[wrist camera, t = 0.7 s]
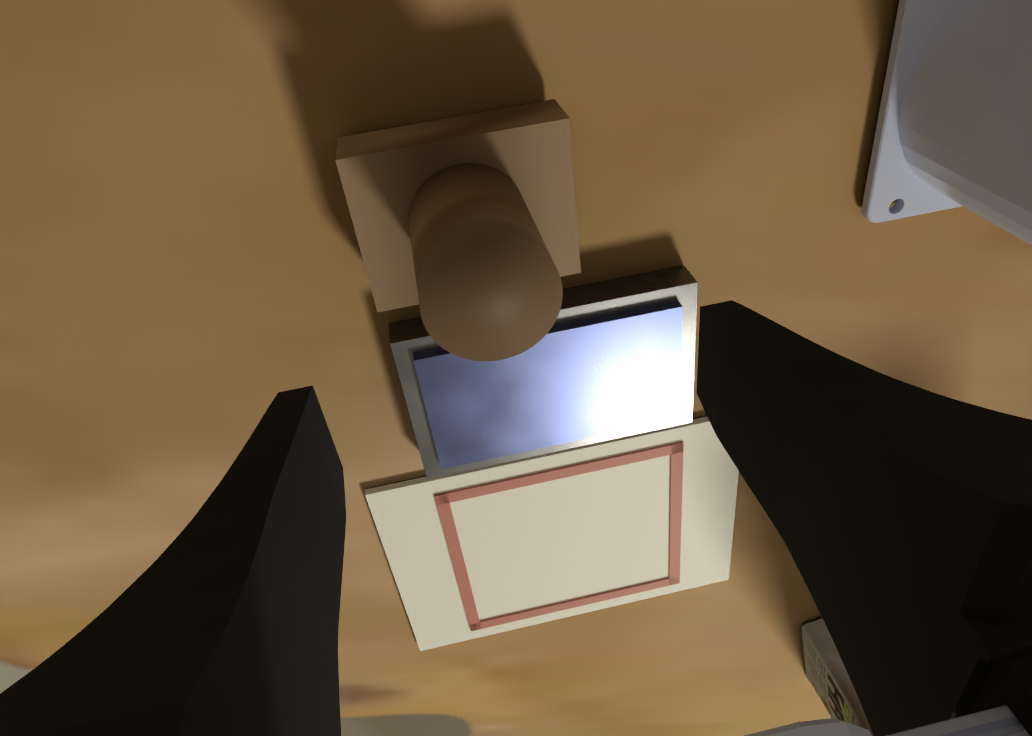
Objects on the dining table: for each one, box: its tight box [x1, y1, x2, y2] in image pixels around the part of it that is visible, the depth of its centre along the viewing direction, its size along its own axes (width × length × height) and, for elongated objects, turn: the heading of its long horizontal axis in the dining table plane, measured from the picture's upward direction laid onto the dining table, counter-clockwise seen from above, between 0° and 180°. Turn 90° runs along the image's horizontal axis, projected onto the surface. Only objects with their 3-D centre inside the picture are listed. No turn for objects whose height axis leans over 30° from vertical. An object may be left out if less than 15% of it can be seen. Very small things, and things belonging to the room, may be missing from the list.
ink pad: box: [389, 266, 698, 479], centre depth 25 cm, size 10×6×2 cm, turn 97°
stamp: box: [335, 99, 581, 361], centre depth 18 cm, size 6×4×7 cm
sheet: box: [365, 417, 739, 651], centre depth 31 cm, size 15×10×1 cm
